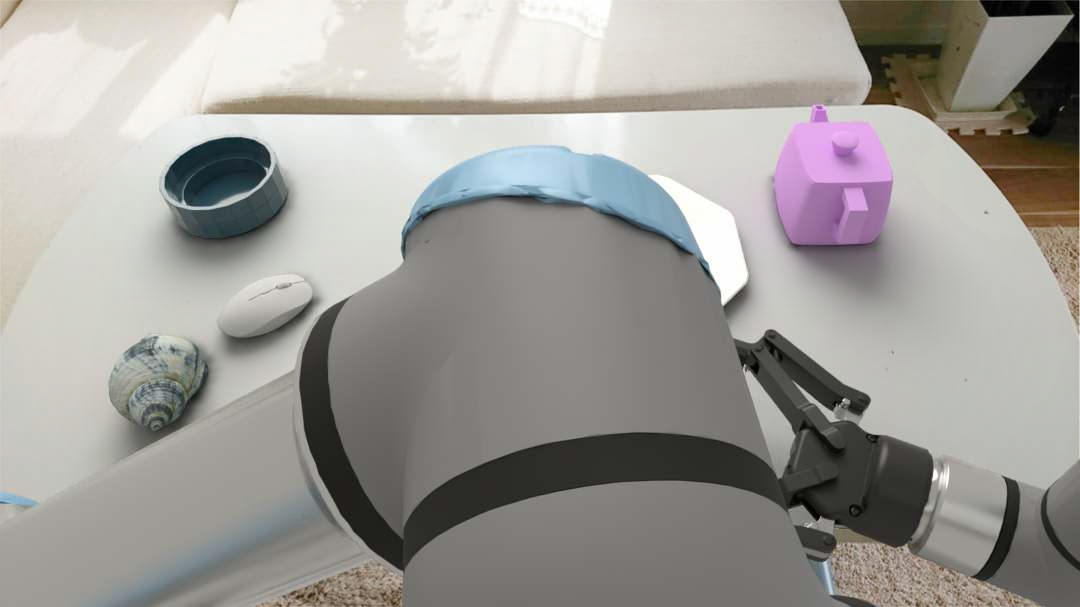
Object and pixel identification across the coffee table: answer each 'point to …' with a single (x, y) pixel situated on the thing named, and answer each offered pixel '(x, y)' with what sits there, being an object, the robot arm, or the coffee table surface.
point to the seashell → (156, 380)
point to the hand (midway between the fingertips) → (641, 399)
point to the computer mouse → (264, 306)
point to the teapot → (832, 182)
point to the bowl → (224, 185)
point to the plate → (712, 236)
